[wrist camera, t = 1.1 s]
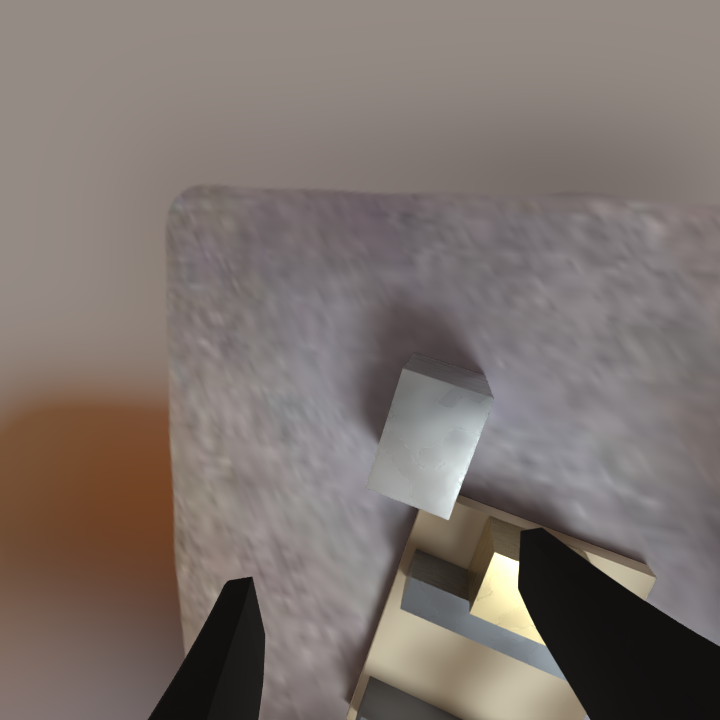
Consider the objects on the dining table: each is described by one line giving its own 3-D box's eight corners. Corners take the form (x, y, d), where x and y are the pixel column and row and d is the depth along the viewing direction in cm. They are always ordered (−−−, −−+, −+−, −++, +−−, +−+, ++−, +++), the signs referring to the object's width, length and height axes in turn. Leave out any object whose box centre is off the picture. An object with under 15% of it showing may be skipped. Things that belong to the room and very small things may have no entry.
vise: (647, 565, 21) (684, 616, 18) (530, 793, 25) (542, 871, 21) (427, 482, 23) (422, 514, 20) (349, 704, 27) (334, 763, 24)
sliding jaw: (647, 575, 20) (681, 625, 17) (603, 660, 21) (628, 722, 18) (434, 495, 22) (431, 527, 19) (405, 577, 23) (397, 620, 20)
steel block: (485, 375, 22) (493, 397, 17) (449, 472, 23) (448, 520, 18) (414, 352, 22) (402, 368, 18) (383, 448, 24) (365, 487, 19)
